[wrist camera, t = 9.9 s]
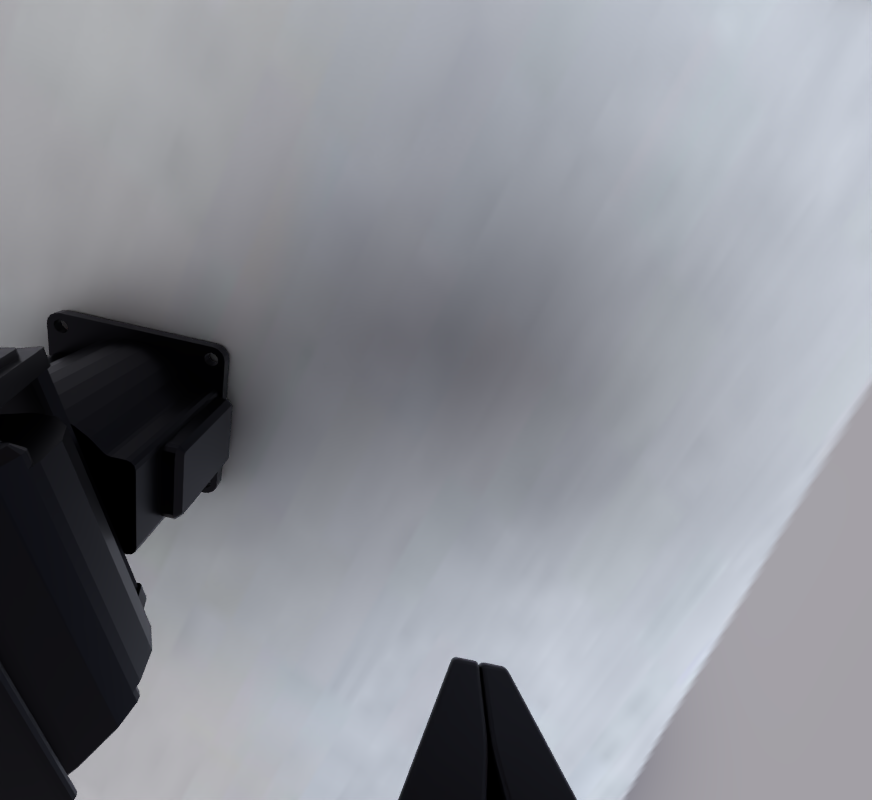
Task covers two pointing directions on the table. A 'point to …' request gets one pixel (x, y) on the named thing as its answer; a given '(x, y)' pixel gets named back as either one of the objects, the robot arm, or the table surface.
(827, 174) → the table surface
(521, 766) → the robot arm
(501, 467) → the table surface
